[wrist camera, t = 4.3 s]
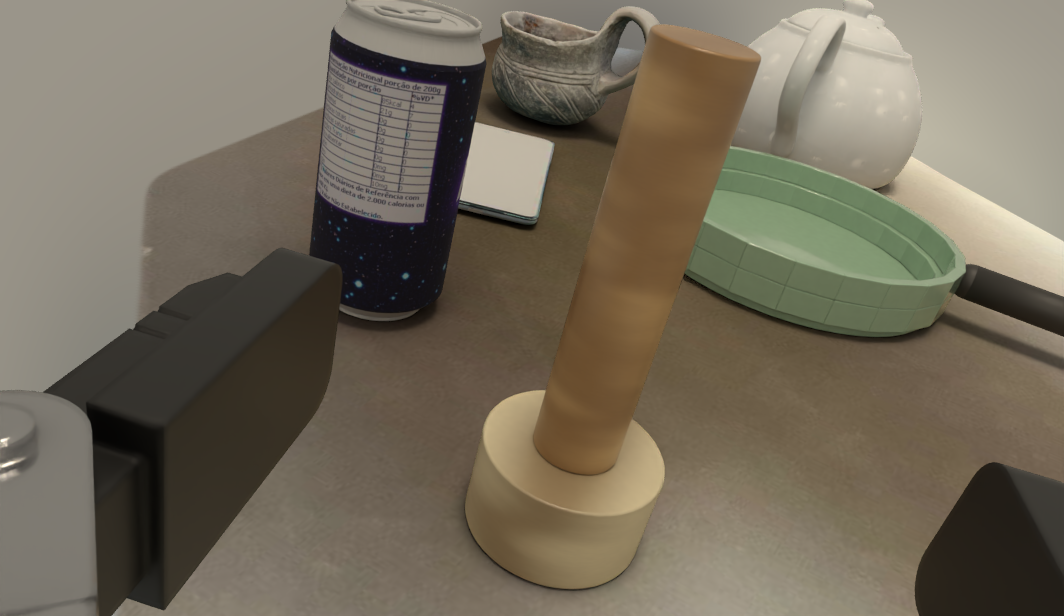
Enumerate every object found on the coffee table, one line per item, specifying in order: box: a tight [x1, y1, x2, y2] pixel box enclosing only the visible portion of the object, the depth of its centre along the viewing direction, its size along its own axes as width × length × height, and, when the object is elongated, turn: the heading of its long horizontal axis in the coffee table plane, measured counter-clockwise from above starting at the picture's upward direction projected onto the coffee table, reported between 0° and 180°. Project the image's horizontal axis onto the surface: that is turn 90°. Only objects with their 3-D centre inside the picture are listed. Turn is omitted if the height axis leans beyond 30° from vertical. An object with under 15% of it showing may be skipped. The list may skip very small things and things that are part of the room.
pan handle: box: [954, 264, 1064, 337], centre depth 44 cm, size 12×2×2 cm, turn 64°
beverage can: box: [309, 0, 486, 321], centre depth 32 cm, size 6×6×12 cm
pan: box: [684, 146, 966, 337], centre depth 49 cm, size 19×19×4 cm
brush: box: [465, 25, 761, 589], centre depth 22 cm, size 6×6×15 cm
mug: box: [492, 6, 660, 125], centre depth 61 cm, size 10×12×10 cm
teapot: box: [731, 0, 922, 189], centre depth 68 cm, size 19×18×14 cm
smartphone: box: [458, 122, 555, 225], centre depth 50 cm, size 7×1×15 cm
